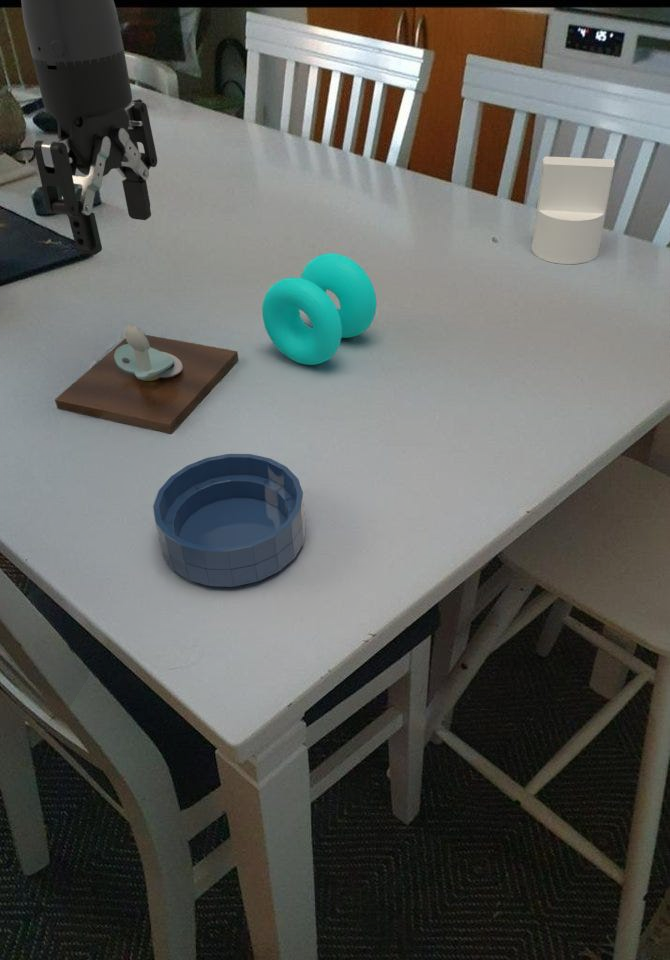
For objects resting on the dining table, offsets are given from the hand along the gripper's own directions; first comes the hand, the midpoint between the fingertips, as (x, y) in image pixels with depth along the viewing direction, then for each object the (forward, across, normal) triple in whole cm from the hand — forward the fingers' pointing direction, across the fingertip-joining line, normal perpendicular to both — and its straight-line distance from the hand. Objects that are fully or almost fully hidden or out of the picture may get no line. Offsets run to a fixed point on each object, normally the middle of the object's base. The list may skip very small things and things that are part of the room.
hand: (116, 234), depth 78 cm
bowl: (+17, +18, +20) cm, 32 cm away
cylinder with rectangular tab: (+17, -49, +37) cm, 63 cm away
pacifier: (+16, -1, 0) cm, 16 cm away
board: (+17, -1, 0) cm, 17 cm away
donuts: (+17, -14, +15) cm, 27 cm away
